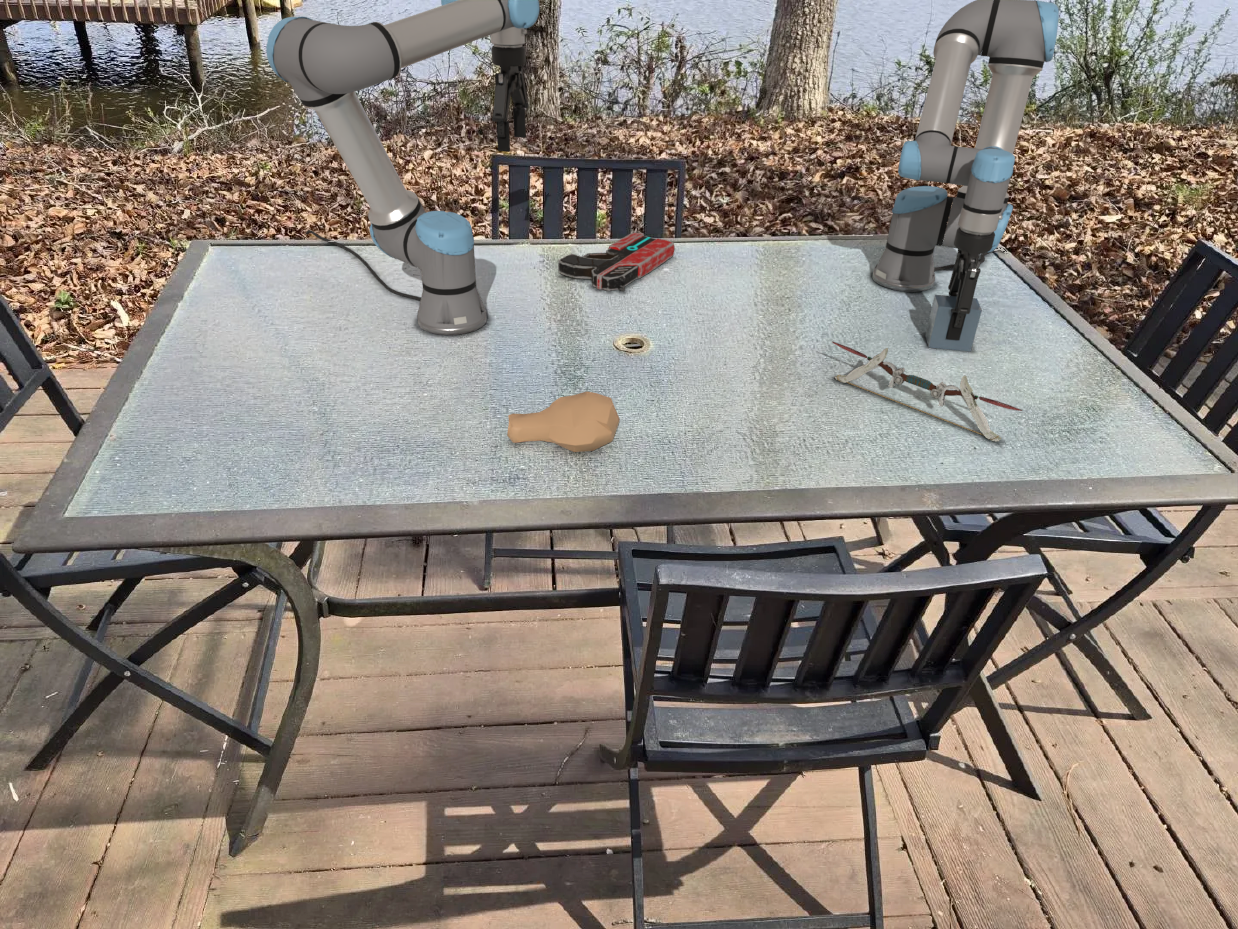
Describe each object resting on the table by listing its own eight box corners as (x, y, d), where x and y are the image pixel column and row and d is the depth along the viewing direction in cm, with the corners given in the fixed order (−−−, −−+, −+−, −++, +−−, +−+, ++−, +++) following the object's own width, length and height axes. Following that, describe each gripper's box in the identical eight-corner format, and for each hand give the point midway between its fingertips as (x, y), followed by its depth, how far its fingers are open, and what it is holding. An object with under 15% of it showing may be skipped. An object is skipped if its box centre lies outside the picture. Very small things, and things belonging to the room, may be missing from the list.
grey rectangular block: (970, 351, 191) (982, 310, 186) (928, 347, 192) (938, 306, 187) (966, 338, 196) (977, 298, 191) (925, 334, 198) (934, 294, 192)
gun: (551, 260, 217) (618, 279, 209) (616, 225, 239) (679, 240, 231) (552, 278, 220) (618, 297, 212) (615, 241, 242) (677, 256, 234)
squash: (622, 459, 152) (616, 419, 146) (509, 467, 154) (498, 429, 148) (622, 418, 160) (617, 379, 154) (514, 426, 162) (505, 388, 155)
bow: (1013, 444, 159) (1029, 396, 153) (1009, 448, 158) (1025, 400, 152) (828, 373, 180) (836, 328, 175) (824, 376, 179) (831, 331, 174)
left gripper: (508, 54, 184) (513, 158, 196) (538, 37, 205) (540, 132, 216) (474, 52, 185) (480, 156, 197) (507, 36, 206) (511, 130, 217)
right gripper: (1004, 247, 171) (975, 353, 184) (987, 216, 188) (961, 315, 200) (964, 244, 172) (938, 349, 185) (951, 213, 189) (927, 312, 201)
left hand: (512, 143), depth 207 cm, fingers open, 13 cm apart
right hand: (950, 331), depth 193 cm, fingers closed on grey rectangular block, 7 cm apart
